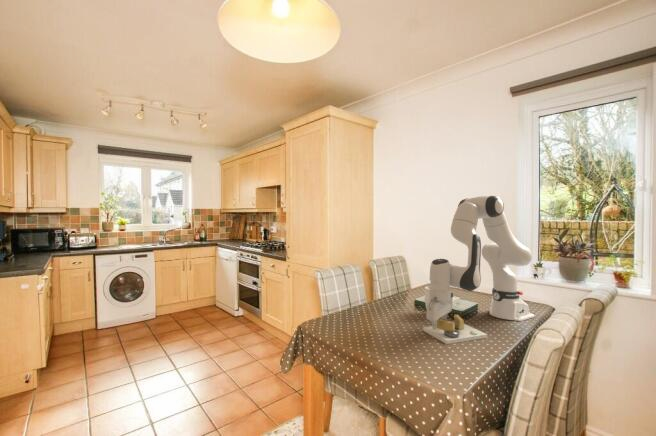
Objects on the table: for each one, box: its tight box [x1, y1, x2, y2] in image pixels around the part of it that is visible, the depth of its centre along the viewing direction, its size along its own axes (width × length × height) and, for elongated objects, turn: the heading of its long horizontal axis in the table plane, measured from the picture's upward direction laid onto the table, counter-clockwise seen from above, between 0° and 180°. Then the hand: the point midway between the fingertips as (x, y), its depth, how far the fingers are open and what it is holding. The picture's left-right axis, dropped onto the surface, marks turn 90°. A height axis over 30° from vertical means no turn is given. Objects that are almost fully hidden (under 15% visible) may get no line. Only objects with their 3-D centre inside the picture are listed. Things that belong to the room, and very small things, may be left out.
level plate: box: [422, 323, 488, 345], centre depth 139 cm, size 22×16×2 cm
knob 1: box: [436, 318, 459, 338], centre depth 135 cm, size 10×6×6 cm, turn 48°
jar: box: [424, 285, 431, 310], centre depth 164 cm, size 11×10×15 cm
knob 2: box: [453, 314, 465, 329], centre depth 141 cm, size 10×6×6 cm, turn 174°
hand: (439, 325), depth 137 cm, fingers open, 8 cm apart
